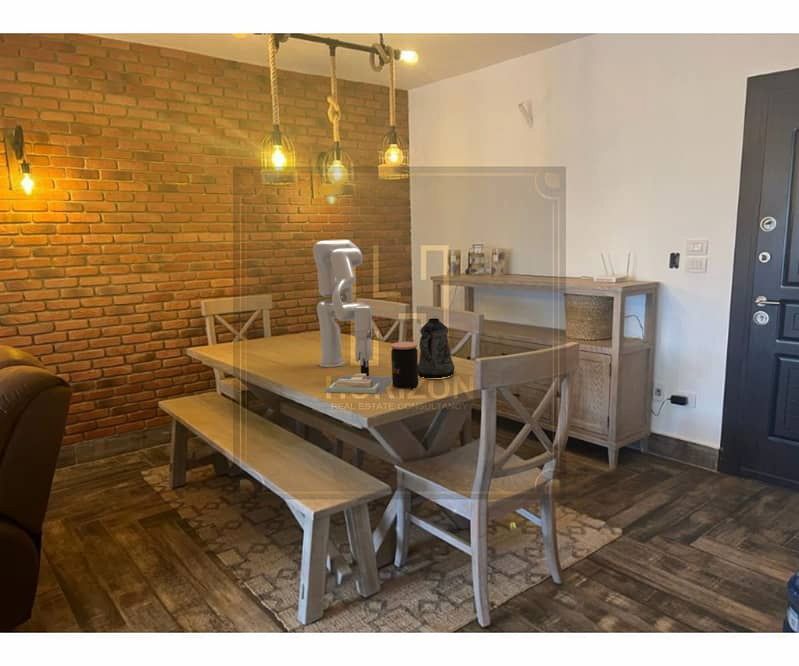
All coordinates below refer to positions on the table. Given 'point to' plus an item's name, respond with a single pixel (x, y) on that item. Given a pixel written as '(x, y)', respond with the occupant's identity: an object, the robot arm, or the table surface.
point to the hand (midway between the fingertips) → (365, 375)
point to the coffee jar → (404, 365)
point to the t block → (355, 381)
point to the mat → (378, 387)
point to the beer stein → (435, 351)
